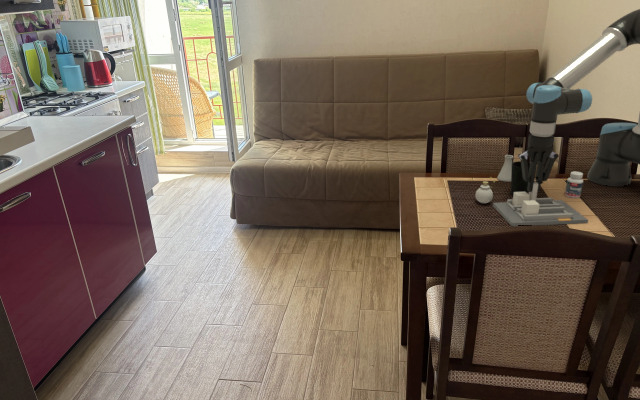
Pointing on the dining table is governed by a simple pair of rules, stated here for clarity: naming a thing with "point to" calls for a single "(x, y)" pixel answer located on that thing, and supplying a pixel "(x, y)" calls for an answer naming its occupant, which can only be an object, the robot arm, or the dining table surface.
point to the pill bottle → (574, 185)
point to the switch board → (540, 213)
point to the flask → (506, 169)
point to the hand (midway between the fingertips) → (531, 199)
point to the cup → (518, 178)
